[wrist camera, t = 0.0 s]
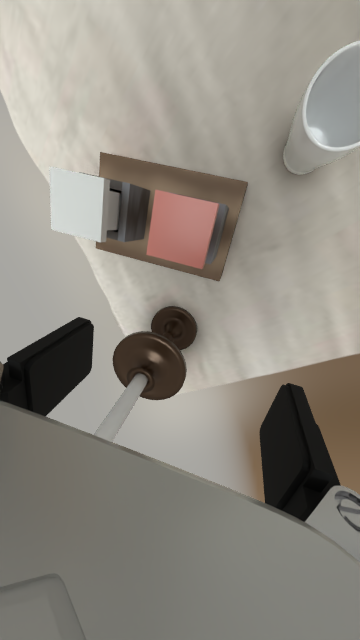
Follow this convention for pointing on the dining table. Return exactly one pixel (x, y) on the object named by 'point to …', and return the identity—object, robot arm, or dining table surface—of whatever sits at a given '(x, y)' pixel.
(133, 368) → the candlestick
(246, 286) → the dining table surface
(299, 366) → the dining table surface
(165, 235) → the red plunger
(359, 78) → the drinking glass
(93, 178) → the grey plunger
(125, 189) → the board
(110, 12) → the dining table surface
